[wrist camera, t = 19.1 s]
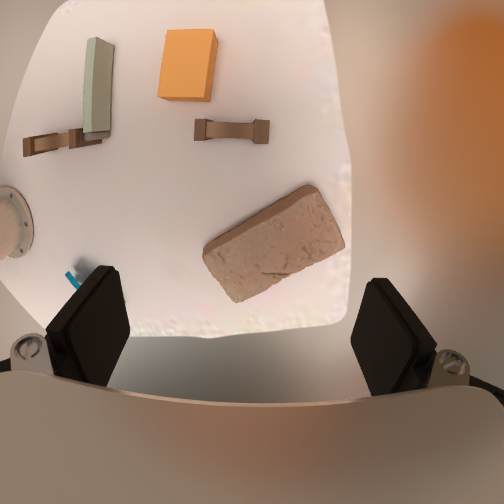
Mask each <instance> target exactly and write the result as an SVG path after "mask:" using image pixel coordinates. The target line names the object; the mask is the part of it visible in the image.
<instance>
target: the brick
mask: <svg viewBox="0 0 504 504" xmlns="http://www.w3.org/2000/svg"><path fill="white" fill-rule="evenodd" d="M344 248H345V242H344V240H343V238H342V235H341V232H340V230H339V228H338V226H337V224H336V222H335V220H334V218H333V216H332V214H331V212H330V210H329V208H328V206H327V204H326V203H325V201H324V199H323V197H322V196H321V194H320V192H319V190H318V189H317V188H316V187H313V186H310V185H308V186H305V187H301V188H300V189H298V190H296V191H295V192H293V193H291V194H290V195H289V196H288V197H287V198H285V199H280V200H278V201H277V202H276V203H275V204H273V205H271V206H270V207H268V208H266V209H265V210H263V211H261V212H259V213H258V214H257V215H255V216H253V217H252V218H250V219H249V220H247V221H246V222H244V223H242V224H241V225H239V226H237V227H236V228H235V229H233V230H232V231H229V232H227V233H226V234H224V235H221V236H219V237H218V238H216V239H215V240H214V241H212V242H211V243H209V244H208V245H206V246H205V247H204V251H203V261H204V263H205V264H206V266H207V267H208V269H209V271H210V272H211V274H212V276H213V277H214V278H216V279H217V281H218V282H220V285H221V286H222V287H223V288H224V290H225V291H226V294H227V295H228V296H229V297H230V298H231V300H232V301H234V302H235V303H238V302H242V301H244V300H246V299H248V298H251V297H253V296H255V295H257V294H259V293H261V292H263V291H265V290H267V289H268V288H269V287H271V286H272V285H274V284H276V283H278V282H279V281H280V280H282V278H286V277H288V276H290V275H291V274H293V273H296V272H299V271H301V270H302V269H304V268H305V267H306V266H311V265H313V264H314V263H317V262H319V261H322V260H324V259H326V258H328V257H330V256H331V255H333V254H335V253H337V252H339V251H341V250H343V249H344Z"/></svg>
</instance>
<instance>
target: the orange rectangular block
mask: <svg viewBox="0 0 504 504" xmlns="http://www.w3.org/2000/svg"><path fill="white" fill-rule="evenodd" d="M217 45H218V40H217V38H216V35H215V32H214V29H181V30H167V35H166V40H165V46H164V52H163V58H162V65H161V72H160V79H159V87H158V96H157V97H160V98H163V99H166V100H169V101H205V102H210V96H211V88H212V80H213V73H214V66H215V59H216V52H217Z"/></svg>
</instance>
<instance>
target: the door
mask: <svg viewBox="0 0 504 504" xmlns="http://www.w3.org/2000/svg"><path fill="white" fill-rule="evenodd" d="M113 50H114V46H113V45H111V44H110V43H108V42H106V41H104V40H102V39H100V38H98V37H94V38H91V39H88V42H87V50H86V60H85V73H84V90H83V133H85V135H84V139H85V141H91V140H97V139H104V138H108V137H109V136H110V132H109V131H108V130H111V129H110V106H111V77H112V62H113Z"/></svg>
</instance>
